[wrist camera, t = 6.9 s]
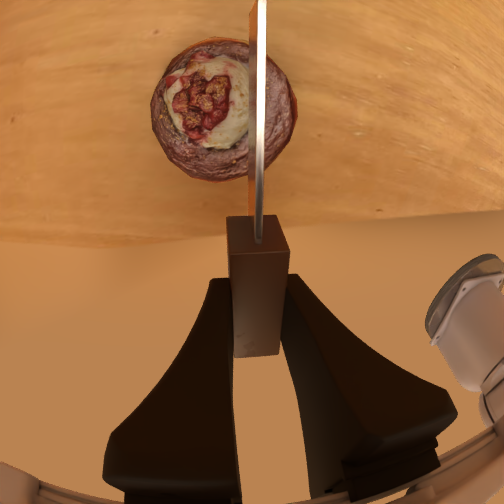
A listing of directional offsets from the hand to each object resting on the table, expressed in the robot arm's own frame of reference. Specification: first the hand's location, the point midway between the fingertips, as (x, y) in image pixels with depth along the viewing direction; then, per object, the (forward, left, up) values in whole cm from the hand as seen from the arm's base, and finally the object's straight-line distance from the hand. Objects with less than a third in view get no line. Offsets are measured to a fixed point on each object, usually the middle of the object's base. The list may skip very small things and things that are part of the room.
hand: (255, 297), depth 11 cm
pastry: (+6, +1, -9) cm, 10 cm away
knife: (+4, 0, -1) cm, 4 cm away
